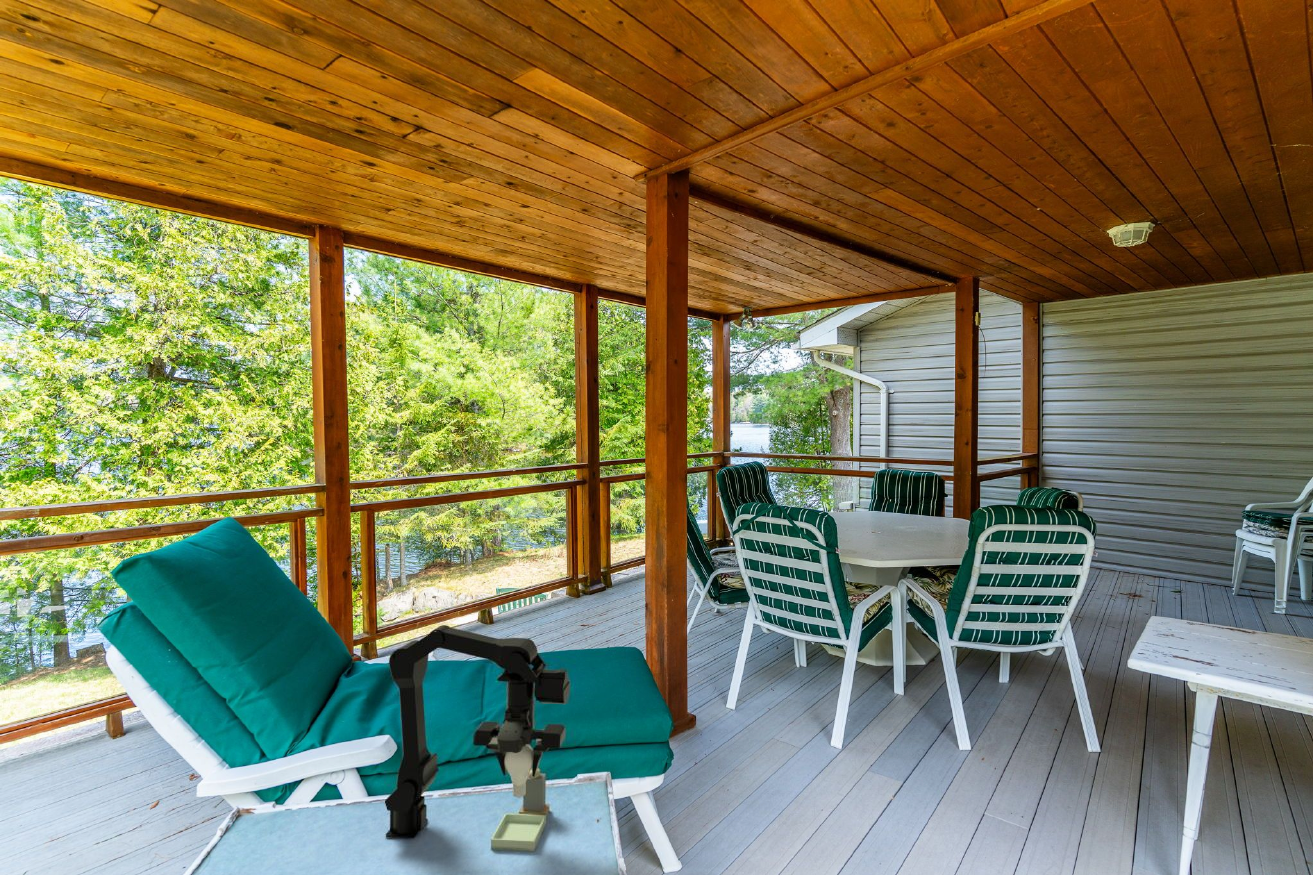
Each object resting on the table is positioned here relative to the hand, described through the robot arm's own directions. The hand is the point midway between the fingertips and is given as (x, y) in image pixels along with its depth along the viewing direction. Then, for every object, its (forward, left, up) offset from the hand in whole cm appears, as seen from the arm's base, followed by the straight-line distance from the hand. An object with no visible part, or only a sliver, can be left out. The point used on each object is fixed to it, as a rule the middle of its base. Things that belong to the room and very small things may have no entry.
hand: (519, 775), depth 128 cm
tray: (0, 0, -13) cm, 13 cm away
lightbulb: (0, 0, -5) cm, 5 cm away
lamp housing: (+1, +8, -13) cm, 15 cm away
